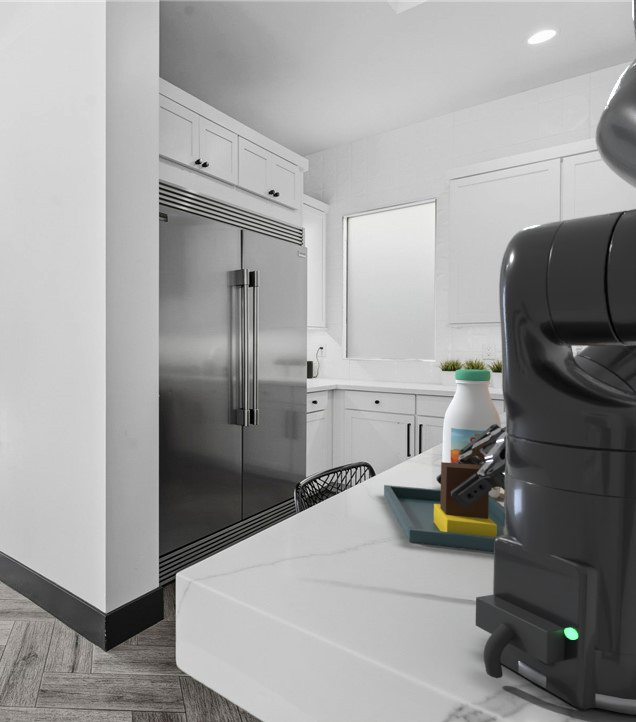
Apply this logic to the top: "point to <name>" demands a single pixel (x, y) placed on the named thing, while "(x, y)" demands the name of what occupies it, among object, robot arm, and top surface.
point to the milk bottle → (468, 414)
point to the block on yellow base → (452, 513)
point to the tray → (419, 523)
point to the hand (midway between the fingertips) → (449, 492)
